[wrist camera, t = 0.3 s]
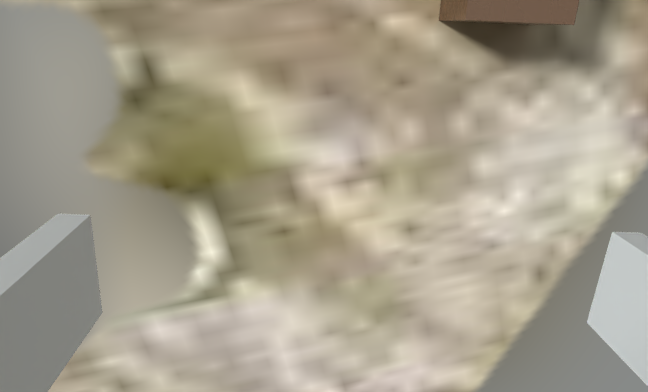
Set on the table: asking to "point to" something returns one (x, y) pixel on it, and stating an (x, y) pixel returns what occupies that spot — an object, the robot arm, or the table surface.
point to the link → (510, 11)
